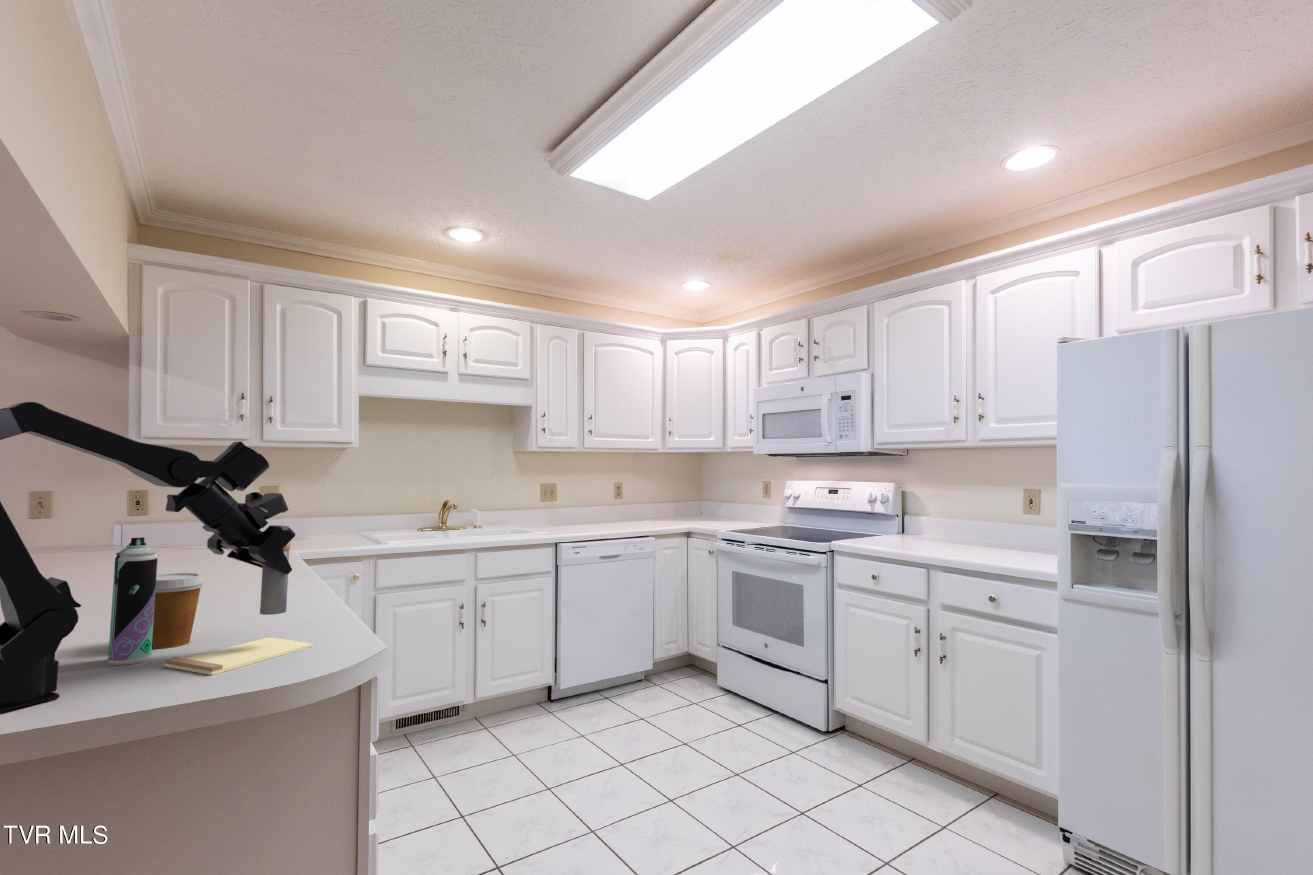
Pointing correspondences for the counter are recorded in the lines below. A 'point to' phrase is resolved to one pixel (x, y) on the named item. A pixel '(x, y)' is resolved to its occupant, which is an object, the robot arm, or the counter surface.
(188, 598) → the disposable coffee cup
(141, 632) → the spray can
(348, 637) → the counter surface
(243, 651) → the legal pad
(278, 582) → the ball
